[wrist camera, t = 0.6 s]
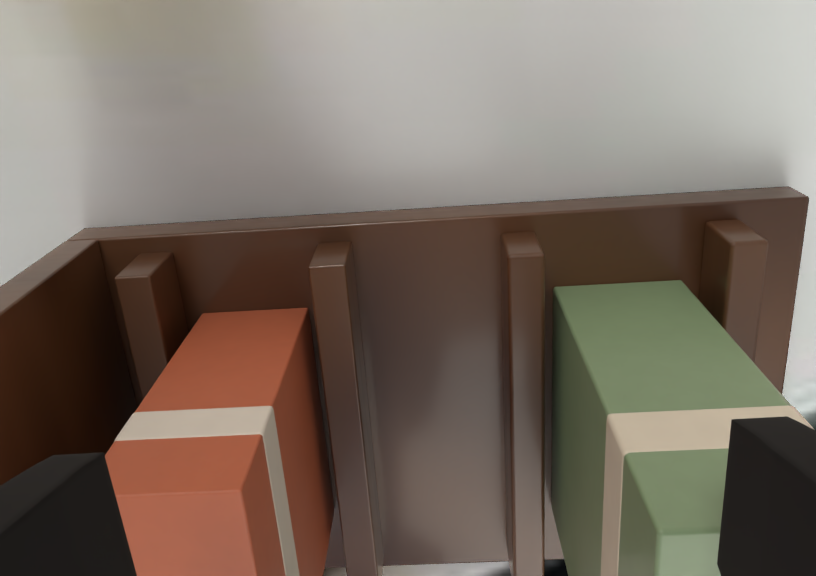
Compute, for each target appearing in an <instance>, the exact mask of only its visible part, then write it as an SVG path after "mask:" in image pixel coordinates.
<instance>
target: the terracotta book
mask: <svg viewBox="0 0 816 576" xmlns="http://www.w3.org/2000/svg"><path fill="white" fill-rule="evenodd" d="M105 459H106V463H107V466H108V470H109V474H110V477H111V481H112V485H113V489H114V492H115V496H116V500H117V503H118V507H119V511H120V515H121V518H122V522H123V526H124V529H125V533H126V537H127V541H128V544H129V548H130V552H131V555H132V559H133V563H134V566H135V570H136V574H137V576H323V573H324V568H325V562H326V556H327V550H328V545H329V539H330V533H331V527H332V522H333V516H334V502H333V494H332V486H331V479H330V471H329V463H328V455H327V448H326V440H325V432H324V424H323V417H322V409H321V401H320V393H319V385H318V378H317V370H316V362H315V354H314V347H313V339H312V331H311V323H310V316H309V309H308V308H291V309H272V310H254V311H235V312H217V313H203V314H202V315H201V316H200V318H199V319H198V321H197V322H196V323H195V325H194V326H193V328H192V329H191V331H190V332H189V334H188V335H187V337H186V338H185V339H184V341H183V342H182V344H181V345H180V347H179V348H178V350H177V351H176V353H175V354H174V355H173V357H172V358H171V360H170V361H169V363H168V364H167V366H166V367H165V369H164V370H163V372H162V373H161V374H160V376H159V377H158V379H157V380H156V382H155V383H154V385H153V386H152V388H151V389H150V390H149V392H148V393H147V395H146V396H145V398H144V399H143V401H142V402H141V404H140V405H139V407H138V408H137V409H136V411H135V412H134V413H133V414H132V415H131V417H130V418H129V420H128V421H127V422H126V424H125V425H124V427H123V428H122V430H121V431H120V433H119V434H118V435H117V437H116V438H115V440H114V443H113V444H112V446H111V447H110V449H109V450H108V452H107V453H106V455H105Z"/></svg>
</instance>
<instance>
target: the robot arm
mask: <svg viewBox="0 0 816 576" xmlns="http://www.w3.org/2000/svg"><path fill="white" fill-rule="evenodd" d="M717 565H718V568H719V571H720V574H721V576H816V430H814V429H812V428H810V427H808V426H806V425H804V424H802V423H800V422H798V421H796V420H794V419H792V418H790V417H788V416H784V417H765V418H746V419H731V429H730V439H729V449H728V459H727V469H726V479H725V489H724V499H723V509H722V519H721V529H720V539H719V549H718V559H717ZM0 576H137V574H136V570H135V566H134V563H133V559H132V555H131V552H130V548H129V544H128V541H127V537H126V533H125V529H124V526H123V522H122V518H121V515H120V511H119V507H118V503H117V500H116V496H115V492H114V489H113V485H112V481H111V477H110V474H109V470H108V466H107V463H106V459H105V455H104V452H102V453H83V454H64V455H52V456H51V457H49V458H47V459H45V460H43V461H41V462H39V463H37V464H35V465H34V466H32V467H30V468H29V469H27V470H25V471H23V472H22V473H20V474H19V475H17V476H15V477H14V478H12V479H10V480H9V481H7V482H6V483H4V484H2V485H1V486H0Z"/></svg>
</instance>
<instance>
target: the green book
mask: <svg viewBox="0 0 816 576" xmlns="http://www.w3.org/2000/svg"><path fill="white" fill-rule="evenodd" d="M784 416H788V417H790V418H792V419H794V420H796V421H798V422H800V423H802V424H804V425H806V426H808V427H810V428H812V426H811V425H810V424H809V423H808V422H807V421H806V420H805V419H804V417H803V416H802V415H801V414H800V413H799V412H798V411H797V409H796V408H795V407H793V406H791V405H790V403H789V402H788V401H787V400H786V399H785V398H784V397H783V395H782V394H781V393H780V392H779V391H778V390H777V389H776V387H775V386H774V385H773V384H772V383H771V382H770V381H769V380H768V378H767V377H766V376H765V375H764V374H763V373H762V372H761V370H760V369H759V368H758V367H757V366H756V365H755V364H754V362H753V361H752V360H751V359H750V358H749V357H748V356H747V354H746V353H745V352H744V351H743V350H742V349H741V348H740V346H739V345H738V344H737V343H736V342H735V341H734V340H733V338H732V337H731V336H730V335H729V334H728V333H727V332H726V331H725V329H724V328H723V327H722V326H721V325H720V324H719V323H718V321H717V320H716V319H715V318H714V317H713V316H712V315H711V313H710V312H709V311H708V310H707V309H706V308H705V307H704V305H703V304H702V303H701V302H700V301H699V300H698V299H697V297H696V296H695V295H694V294H693V293H692V292H691V291H690V289H689V288H688V287H687V286H686V285H685V284H684V283H683V282H682V281H681V280H672V281H653V282H635V283H616V284H598V285H580V286H561V287H554V289H553V363H552V511H553V515H554V519H555V523H556V527H557V531H558V535H559V539H560V543H561V547H562V552H563V556H564V560H565V564H566V568H567V572H568V576H721V574H720V571H719V568H718V565H717V559H718V549H719V539H720V529H721V519H722V509H723V499H724V489H725V479H726V469H727V459H728V449H729V439H730V429H731V419H746V418H765V417H784ZM812 429H813V428H812Z"/></svg>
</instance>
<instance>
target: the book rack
mask: <svg viewBox="0 0 816 576" xmlns="http://www.w3.org/2000/svg"><path fill="white" fill-rule="evenodd" d="M808 203H809V198H808V196H806V195H804V194H802V193H800V192H798V191H797V190H795V189H793V188H791V187H772V188H755V189H739V190H722V191H705V192H688V193H672V194H655V195H638V196H621V197H604V198H588V199H571V200H554V201H537V202H520V203H504V204H487V205H470V206H453V207H437V208H420V209H403V210H386V211H369V212H353V213H336V214H319V215H302V216H285V217H269V218H252V219H235V220H218V221H202V222H185V223H168V224H151V225H134V226H118V227H101V228H84V229H83V230H81V231H80V232H78V233H77V234H75V235H74V236H73V237H71V238H70V239H68V240H67V241H65V242H64V243H62V244H61V245H59V246H58V247H56V248H55V249H54V250H52V251H51V252H49V253H48V254H46V255H45V256H44V257H42V258H41V259H39V260H38V261H36V262H35V263H34V264H32V265H31V266H29V267H28V268H27V269H25V270H24V271H22V272H21V273H19V274H18V275H17V276H15V277H14V278H12V279H11V280H9V281H8V282H7V283H5V284H4V285H2V286H1V287H0V486H1V485H2V484H4V483H6V482H7V481H9V480H10V479H12V478H14V477H15V476H17V475H19V474H20V473H22V472H23V471H25V470H27V469H29V468H30V467H32V466H34V465H35V464H37V463H39V462H41V461H43V460H45V459H47V458H49V457H51V456H52V455H64V454H83V453H102V452H104V455H106V453H107V452H108V450H109V449H110V447H111V446H112V444H113V443H114V440H115V438H116V437H117V435H118V434H119V433H120V431H121V430H122V428H123V427H124V425H125V424H126V422H127V421H128V420H129V418H130V417H131V415H132V414H133V413H134V412H135V411H136V409H137V408H138V407H139V405H140V404H141V402H142V401H143V399H144V398H145V396H146V395H147V393H148V392H149V390H150V389H151V388H152V386H153V385H154V383H155V382H156V380H157V379H158V377H159V376H160V374H161V373H162V372H163V370H164V369H165V367H166V366H167V364H168V363H169V361H170V360H171V358H172V357H173V355H174V354H175V353H176V351H177V350H178V348H179V347H180V345H181V344H182V342H183V341H184V339H185V338H186V337H187V335H188V334H189V332H190V331H191V329H192V328H193V326H194V325H195V323H196V322H197V321H198V319H199V318H200V316H201V315H202V314H203V313H217V312H235V311H254V310H272V309H291V308H308V309H309V316H310V323H311V331H312V339H313V347H314V354H315V362H316V370H317V378H318V385H319V393H320V401H321V409H322V417H323V424H324V432H325V440H326V448H327V455H328V463H329V471H330V479H331V486H332V494H333V502H334V516H333V522H332V527H331V533H330V539H329V545H328V550H327V556H326V562H325V568H338V567H346V571H347V576H382V572H383V566H391V565H417V564H444V563H470V562H497V561H509V565H510V572H511V576H544V560H550V559H564V556H563V552H562V547H561V543H560V539H559V535H558V531H557V527H556V523H555V519H554V515H553V511H552V363H553V289H554V287H561V286H580V285H598V284H616V283H635V282H653V281H672V280H681V281H682V282H683V283H684V284H685V285H686V286H687V287H688V288H689V289H690V291H691V292H692V293H693V294H694V295H695V296H696V297H697V299H698V300H699V301H700V302H701V303H702V304H703V305H704V307H705V308H706V309H707V310H708V311H709V312H710V313H711V315H712V316H713V317H714V318H715V319H716V320H717V321H718V323H719V324H720V325H721V326H722V327H723V328H724V329H725V331H726V332H727V333H728V334H729V335H730V336H731V337H732V338H733V340H734V341H735V342H736V343H737V344H738V345H739V346H740V348H741V349H742V350H743V351H744V352H745V353H746V354H747V356H748V357H749V358H750V359H751V360H752V361H753V362H754V364H755V365H756V366H757V367H758V368H759V369H760V370H761V372H762V373H763V374H764V375H765V376H766V377H767V378H768V380H769V381H770V382H771V383H772V384H773V385H774V386H775V387H776V389H777V390H778V391H779V392H780V393H781V394H782V390H783V383H784V376H785V368H786V361H787V354H788V347H789V340H790V332H791V325H792V318H793V311H794V304H795V296H796V289H797V282H798V275H799V268H800V260H801V253H802V246H803V239H804V232H805V224H806V217H807V210H808Z"/></svg>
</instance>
